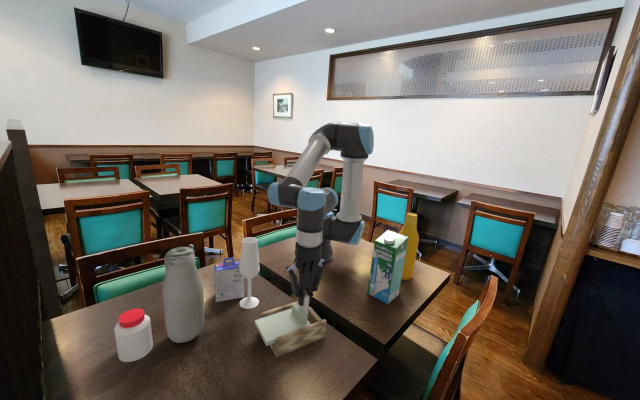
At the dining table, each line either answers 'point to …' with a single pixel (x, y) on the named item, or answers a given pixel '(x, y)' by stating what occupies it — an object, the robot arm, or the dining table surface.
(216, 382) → the dining table surface
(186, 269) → the glass bottle
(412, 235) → the beer bottle
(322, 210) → the robot arm
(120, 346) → the pill bottle
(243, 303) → the champagne flute
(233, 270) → the ink cartridge box
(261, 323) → the lid
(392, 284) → the milk carton
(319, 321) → the box
